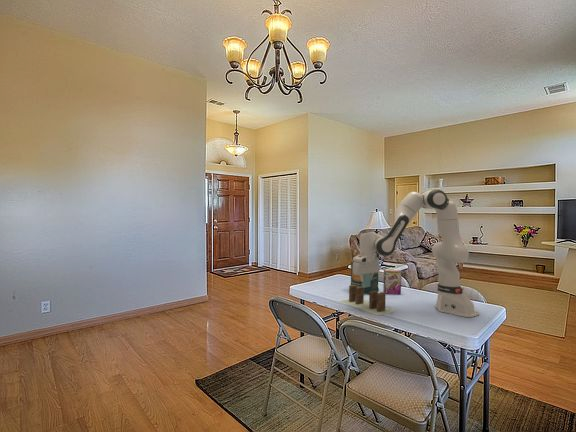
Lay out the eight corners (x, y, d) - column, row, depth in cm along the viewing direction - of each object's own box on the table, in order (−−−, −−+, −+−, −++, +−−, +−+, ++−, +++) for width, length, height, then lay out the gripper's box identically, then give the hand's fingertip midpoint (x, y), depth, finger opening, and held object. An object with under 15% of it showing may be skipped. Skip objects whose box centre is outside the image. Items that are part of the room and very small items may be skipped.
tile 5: (357, 300, 195) (357, 285, 194) (351, 302, 192) (351, 286, 192) (354, 300, 196) (354, 284, 196) (349, 301, 193) (349, 285, 193)
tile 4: (363, 303, 190) (363, 287, 190) (357, 304, 187) (358, 288, 187) (361, 302, 192) (361, 286, 192) (355, 303, 189) (355, 287, 189)
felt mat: (396, 311, 176) (396, 310, 176) (378, 316, 168) (378, 315, 168) (356, 298, 202) (356, 297, 202) (339, 301, 194) (339, 301, 194)
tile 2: (377, 307, 181) (377, 291, 181) (371, 309, 178) (372, 292, 178) (375, 307, 182) (375, 290, 182) (369, 308, 180) (369, 291, 180)
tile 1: (385, 310, 176) (385, 293, 176) (379, 311, 173) (379, 294, 173) (382, 309, 178) (382, 292, 178) (376, 311, 175) (376, 293, 175)
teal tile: (370, 286, 185) (370, 270, 185) (364, 287, 183) (364, 270, 182) (367, 285, 187) (368, 269, 187) (362, 286, 184) (362, 270, 184)
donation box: (378, 291, 219) (379, 252, 219) (367, 296, 208) (368, 254, 207) (358, 287, 230) (358, 250, 230) (347, 291, 218) (347, 252, 218)
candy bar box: (384, 294, 213) (385, 270, 213) (383, 292, 218) (383, 269, 218) (401, 294, 212) (401, 271, 212) (399, 292, 217) (399, 269, 217)
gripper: (374, 256, 193) (374, 277, 193) (350, 258, 182) (350, 281, 182) (382, 257, 188) (382, 279, 188) (358, 259, 176) (358, 283, 176)
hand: (366, 280), depth 185 cm, fingers closed on teal tile, 5 cm apart
